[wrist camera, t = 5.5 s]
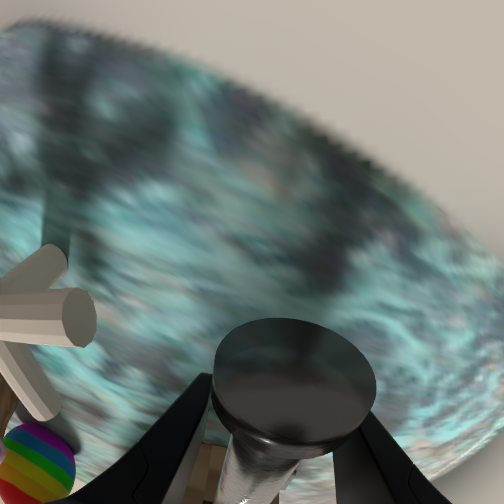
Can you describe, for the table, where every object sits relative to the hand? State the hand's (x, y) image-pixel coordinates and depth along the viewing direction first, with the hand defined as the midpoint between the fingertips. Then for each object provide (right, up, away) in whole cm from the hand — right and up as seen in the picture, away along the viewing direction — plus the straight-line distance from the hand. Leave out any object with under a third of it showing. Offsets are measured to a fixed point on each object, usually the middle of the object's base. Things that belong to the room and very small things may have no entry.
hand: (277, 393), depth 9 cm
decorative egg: (-21, -14, +13) cm, 29 cm away
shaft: (-1, -5, +3) cm, 6 cm away
